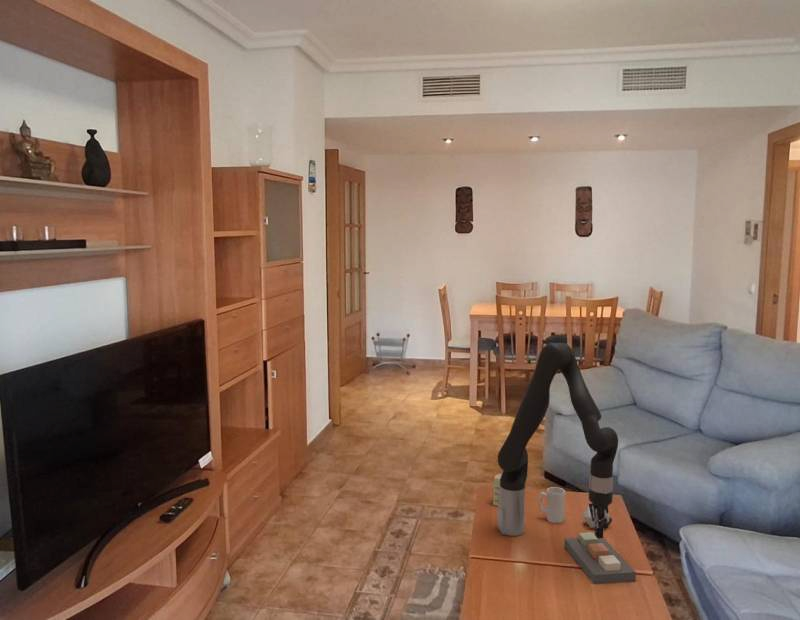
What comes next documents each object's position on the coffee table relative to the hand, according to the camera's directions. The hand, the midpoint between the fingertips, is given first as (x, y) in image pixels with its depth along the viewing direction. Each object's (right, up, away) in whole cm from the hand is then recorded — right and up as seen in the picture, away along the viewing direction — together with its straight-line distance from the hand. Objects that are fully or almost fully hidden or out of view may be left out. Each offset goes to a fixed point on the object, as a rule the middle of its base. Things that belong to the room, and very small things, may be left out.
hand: (599, 537), depth 204 cm
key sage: (-1, -7, +9) cm, 11 cm away
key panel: (0, -9, +1) cm, 9 cm away
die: (+8, -6, +28) cm, 30 cm away
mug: (-8, -6, +33) cm, 34 cm away
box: (-23, -4, +46) cm, 52 cm away
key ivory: (+1, -8, -7) cm, 11 cm away
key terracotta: (0, -7, +1) cm, 8 cm away
